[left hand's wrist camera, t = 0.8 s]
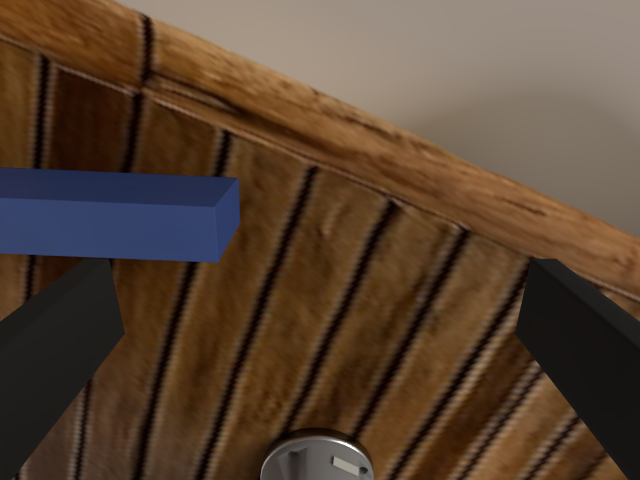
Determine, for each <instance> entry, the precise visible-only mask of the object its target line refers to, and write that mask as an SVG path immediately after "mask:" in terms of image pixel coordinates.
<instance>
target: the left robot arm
mask: <svg viewBox="0 0 640 480" xmlns="http://www.w3.org/2000/svg"><path fill="white" fill-rule="evenodd" d="M124 334H125V332H124V327H123V322H122V318H121V313H120V309H119V304H118V299H117V295H116V290H115V286H114V281H113V276H112V272H111V267H110V263H109V259H83V260H82V261H80V262H79V263H78V264H76V265H75V266H74V267H72V268H71V269H70V270H68V271H67V272H66V273H64V274H63V275H62V276H60V277H59V278H58V279H56V280H55V281H54V282H52V283H51V284H50V285H48V286H47V287H46V288H44V289H43V290H42V291H40V292H39V293H38V294H36V295H35V296H34V297H32V298H31V299H30V300H28V301H27V302H26V303H24V304H23V305H22V306H20V307H19V308H18V309H16V310H15V311H14V312H12V313H11V314H10V315H8V316H7V317H6V318H4V319H3V320H2V321H0V480H12V479H13V477H14V476H15V475H16V473H17V472H18V471H19V470H20V468H21V467H22V466H23V464H24V463H25V462H26V460H27V459H28V458H29V457H30V455H31V454H32V453H33V451H34V450H35V449H36V448H37V446H38V445H39V444H40V442H41V441H42V440H43V439H44V437H45V436H46V435H47V433H48V432H49V431H50V429H51V428H52V427H53V426H54V424H55V423H56V422H57V420H58V419H59V418H60V417H61V415H62V414H63V413H64V411H65V410H66V409H67V408H68V406H69V405H70V404H71V402H72V401H73V400H74V399H75V397H76V396H77V395H78V393H79V392H80V391H81V389H82V388H83V387H84V386H85V384H86V383H87V382H88V380H89V379H90V378H91V377H92V375H93V374H94V373H95V371H96V370H97V369H98V368H99V366H100V365H101V364H102V362H103V361H104V360H105V359H106V357H107V356H108V355H109V353H110V352H111V351H112V349H113V348H114V347H115V346H116V344H117V343H118V342H119V340H120V339H121V338H122V337H123V335H124ZM515 334H516V335H517V337H518V338H519V339H520V340H521V342H522V343H523V344H524V346H525V347H526V348H527V349H528V351H529V352H530V353H531V355H532V356H533V357H534V359H535V360H536V361H537V362H538V364H539V365H540V366H541V368H542V369H543V370H544V371H545V373H546V374H547V375H548V377H549V378H550V379H551V380H552V382H553V383H554V384H555V386H556V387H557V388H558V389H559V391H560V392H561V393H562V395H563V396H564V397H565V399H566V400H567V401H568V402H569V404H570V405H571V406H572V408H573V409H574V410H575V411H576V413H577V414H578V415H579V417H580V418H581V419H582V420H583V422H584V423H585V424H586V426H587V427H588V428H589V429H590V431H591V432H592V433H593V435H594V436H595V437H596V439H597V440H598V441H599V442H600V444H601V445H602V446H603V448H604V449H605V450H606V451H607V453H608V454H609V455H610V457H611V458H612V459H613V460H614V462H615V463H616V464H617V466H618V467H619V468H620V470H621V471H622V472H623V473H624V475H625V476H626V477H627V479H628V480H640V321H638V320H637V319H636V318H634V317H633V316H632V315H630V314H629V313H628V312H626V311H625V310H624V309H622V308H621V307H620V306H618V305H617V304H616V303H614V302H613V301H612V300H610V299H609V298H608V297H606V296H605V295H604V294H602V293H601V292H600V291H598V290H597V289H596V288H594V287H593V286H592V285H590V284H589V283H588V282H586V281H585V280H584V279H582V278H581V277H580V276H578V275H577V274H576V273H574V272H573V271H572V270H570V269H569V268H568V267H566V266H565V265H564V264H562V263H561V262H560V261H558V260H557V259H531V263H530V267H529V272H528V276H527V281H526V286H525V290H524V295H523V299H522V304H521V309H520V313H519V318H518V322H517V327H516V331H515ZM261 480H374V472H373V464H372V460H371V457H370V455H369V453H368V451H367V450H366V448H365V447H364V446H363V445H362V444H361V443H360V442H358V441H357V440H355V439H354V438H352V437H350V436H348V435H346V434H344V433H341V432H338V431H334V430H329V429H305V430H300V431H296V432H293V433H290V434H288V435H286V436H284V437H282V438H280V439H279V440H277V441H276V442H275V443H274V444H273V445H272V446H271V447H270V448H269V449H268V450H267V452H266V454H265V456H264V459H263V463H262V470H261Z"/></svg>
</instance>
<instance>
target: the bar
mask: <svg viewBox="0 0 640 480" xmlns="http://www.w3.org/2000/svg"><path fill="white" fill-rule="evenodd" d="M239 224H240V210H239V183H238V178H227V177H205V176H182V175H159V174H137V173H114V172H92V171H69V170H46V169H24V168H1V167H0V253H6V254H30V255H54V256H78V257H102V258H126V259H150V260H174V261H198V262H218V261H219V260H220V258H221V256H222V254H223V252H224V251H225V249H226V247H227V245H228V243H229V242H230V240H231V238H232V236H233V234H234V233H235V231H236V229H237V227H238V225H239Z"/></svg>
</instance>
